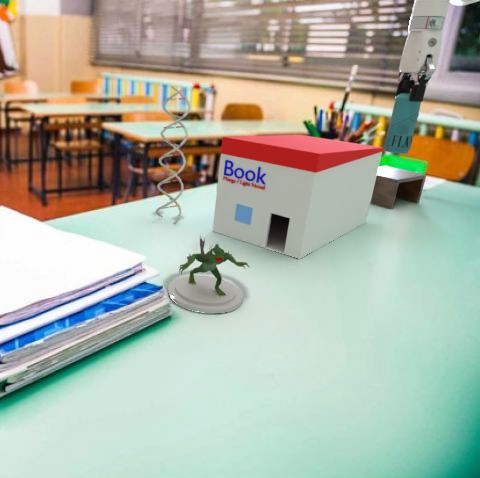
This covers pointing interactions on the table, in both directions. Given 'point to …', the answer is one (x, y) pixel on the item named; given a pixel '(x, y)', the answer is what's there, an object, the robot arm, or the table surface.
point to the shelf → (396, 186)
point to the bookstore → (293, 190)
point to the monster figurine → (207, 284)
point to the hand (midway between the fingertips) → (408, 99)
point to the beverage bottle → (402, 122)
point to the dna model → (176, 148)
